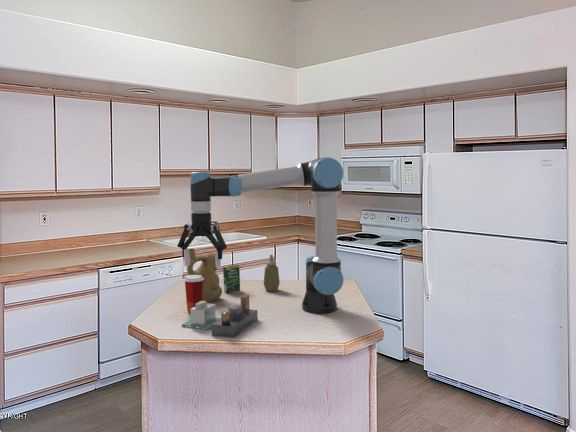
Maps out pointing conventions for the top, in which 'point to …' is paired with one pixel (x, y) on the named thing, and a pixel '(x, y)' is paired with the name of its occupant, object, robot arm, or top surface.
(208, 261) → the ceramic vessel
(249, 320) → the hand plane
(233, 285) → the coffee box
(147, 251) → the top surface
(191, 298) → the coffee cup
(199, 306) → the lever cap
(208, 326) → the rubber mat
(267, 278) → the squeeze bottle
